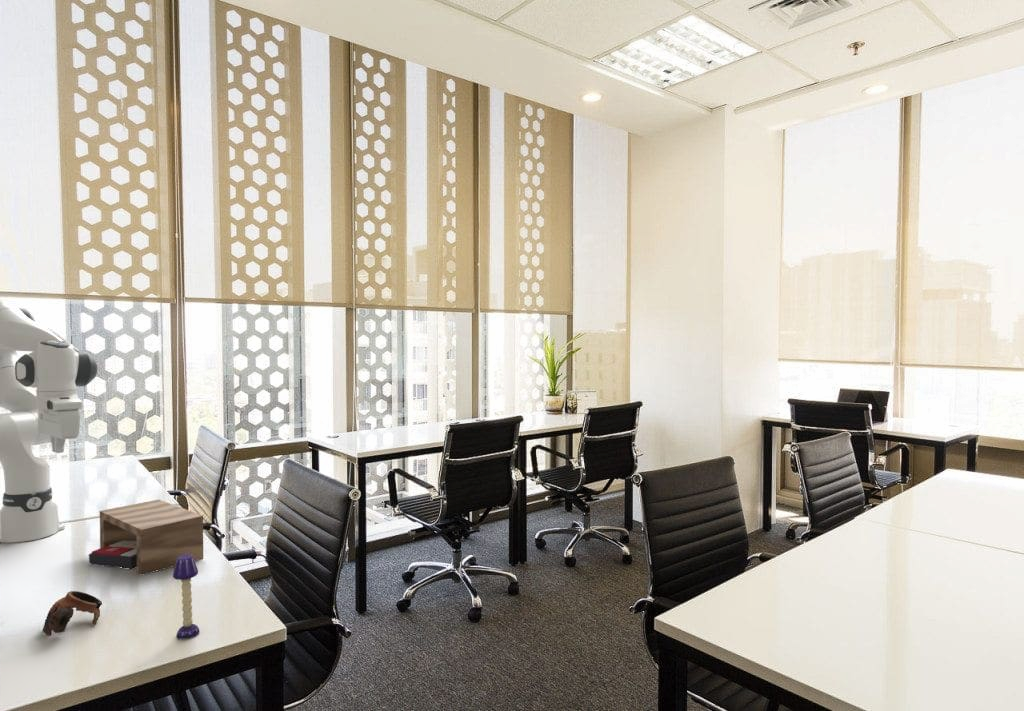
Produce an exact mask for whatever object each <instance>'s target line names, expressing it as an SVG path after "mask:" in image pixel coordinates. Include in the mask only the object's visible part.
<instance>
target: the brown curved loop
mask: <svg viewBox="0 0 1024 711" xmlns="http://www.w3.org/2000/svg"><path fill="white" fill-rule="evenodd" d="M66 593H67V594H66V595H65V596H63V597H61V598H60V599H58V600H57V601H55V602H54V603H53V604H52V606H51V607H50V608H49V610H48V613H47V615H46V618H45V620H44V624H43V628H42V632H43V633H44V634H45V635H46V636H48V637H51V636H52V634H53V633H55V634H60V633H64V632H65V631H66V629H67V626H68V623H69V622H70V620H71V619H72V617H73V616H74V612H75V611H79V612H83V613H89V614H93V619H92V621H91V624H92V625H94V626H95V625H96V624H97V623H98V621H99V618H100V617H101V610H100V609H101V608H100V607H101V606H102V604H103V602H102V601H101V600H100V599H99V598H97V597H96V596H94V595H91V594H89V593H86V592H82V591H76V590H75V591H74V590H71V591H68V592H66ZM74 608H75V610H74ZM52 632H53V633H52Z"/></svg>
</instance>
